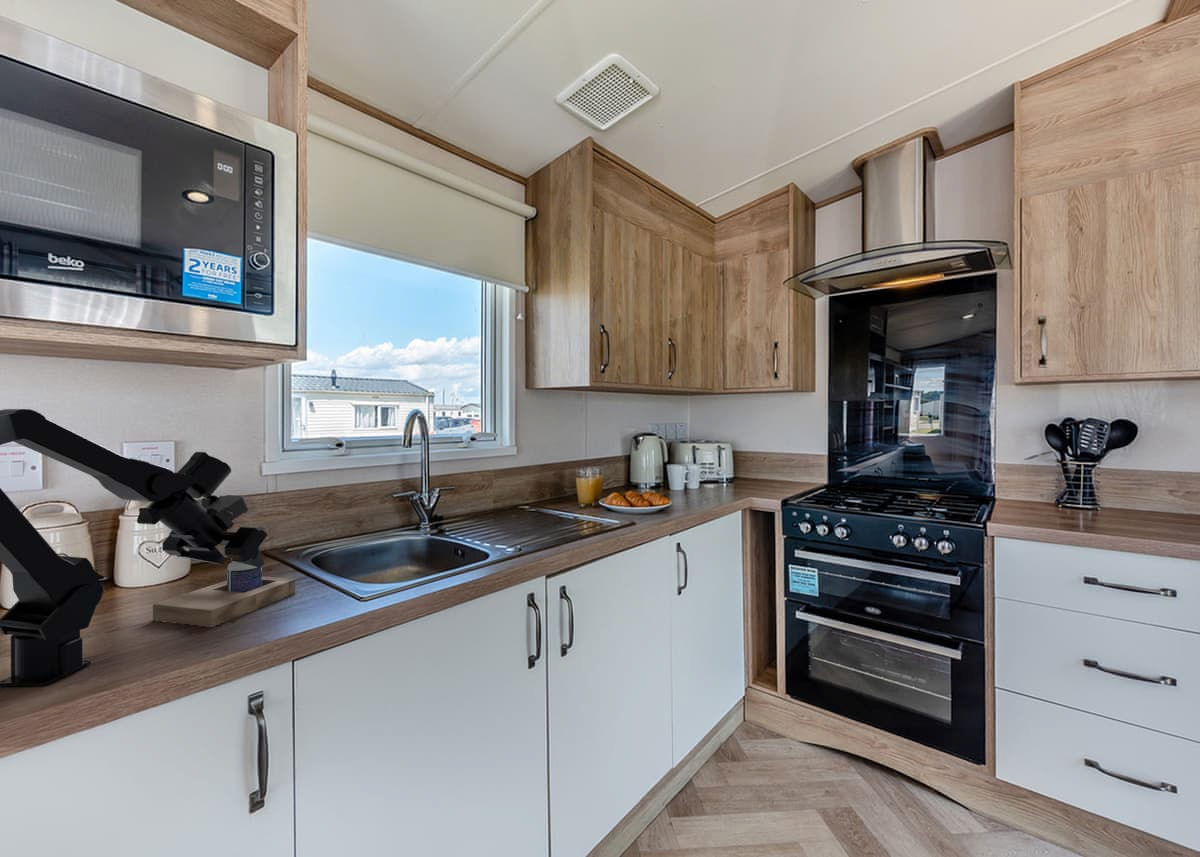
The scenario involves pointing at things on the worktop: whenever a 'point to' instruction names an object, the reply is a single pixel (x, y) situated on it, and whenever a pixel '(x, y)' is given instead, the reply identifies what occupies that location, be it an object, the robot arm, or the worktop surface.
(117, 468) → the robot arm
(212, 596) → the brown block with opening
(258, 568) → the pill bottle
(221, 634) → the worktop surface
